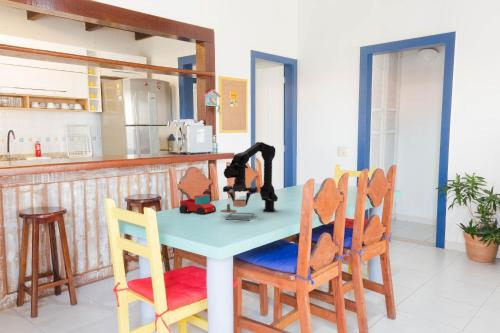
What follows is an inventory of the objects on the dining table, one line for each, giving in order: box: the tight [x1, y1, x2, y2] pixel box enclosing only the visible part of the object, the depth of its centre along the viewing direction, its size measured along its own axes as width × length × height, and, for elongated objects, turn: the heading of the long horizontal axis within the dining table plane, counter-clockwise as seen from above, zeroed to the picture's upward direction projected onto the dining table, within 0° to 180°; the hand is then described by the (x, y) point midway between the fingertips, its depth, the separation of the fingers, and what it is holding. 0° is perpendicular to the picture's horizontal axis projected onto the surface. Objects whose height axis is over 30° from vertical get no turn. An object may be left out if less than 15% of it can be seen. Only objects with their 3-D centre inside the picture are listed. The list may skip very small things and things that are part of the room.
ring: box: [232, 198, 247, 208], centre depth 217 cm, size 8×7×3 cm
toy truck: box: [179, 193, 217, 216], centre depth 232 cm, size 12×20×11 cm, turn 54°
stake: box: [220, 203, 238, 214], centre depth 232 cm, size 10×10×5 cm
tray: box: [225, 211, 255, 222], centre depth 219 cm, size 14×14×2 cm
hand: (240, 204), depth 218 cm, fingers closed on ring, 7 cm apart
